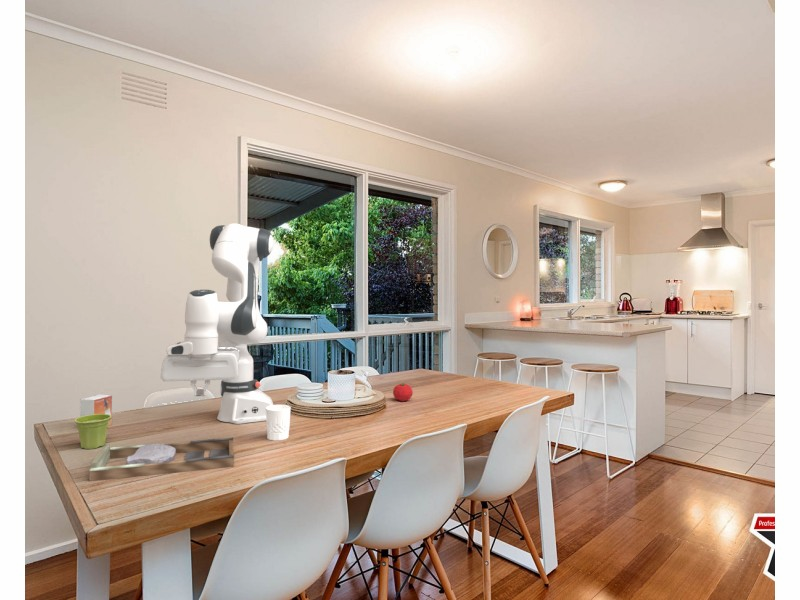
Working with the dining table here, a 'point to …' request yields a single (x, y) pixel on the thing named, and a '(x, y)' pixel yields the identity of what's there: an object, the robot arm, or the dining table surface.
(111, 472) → the box
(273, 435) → the white cup
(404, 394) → the tomato
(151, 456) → the stone block
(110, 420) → the small box
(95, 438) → the plant pot
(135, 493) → the dining table surface
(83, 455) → the dining table surface
